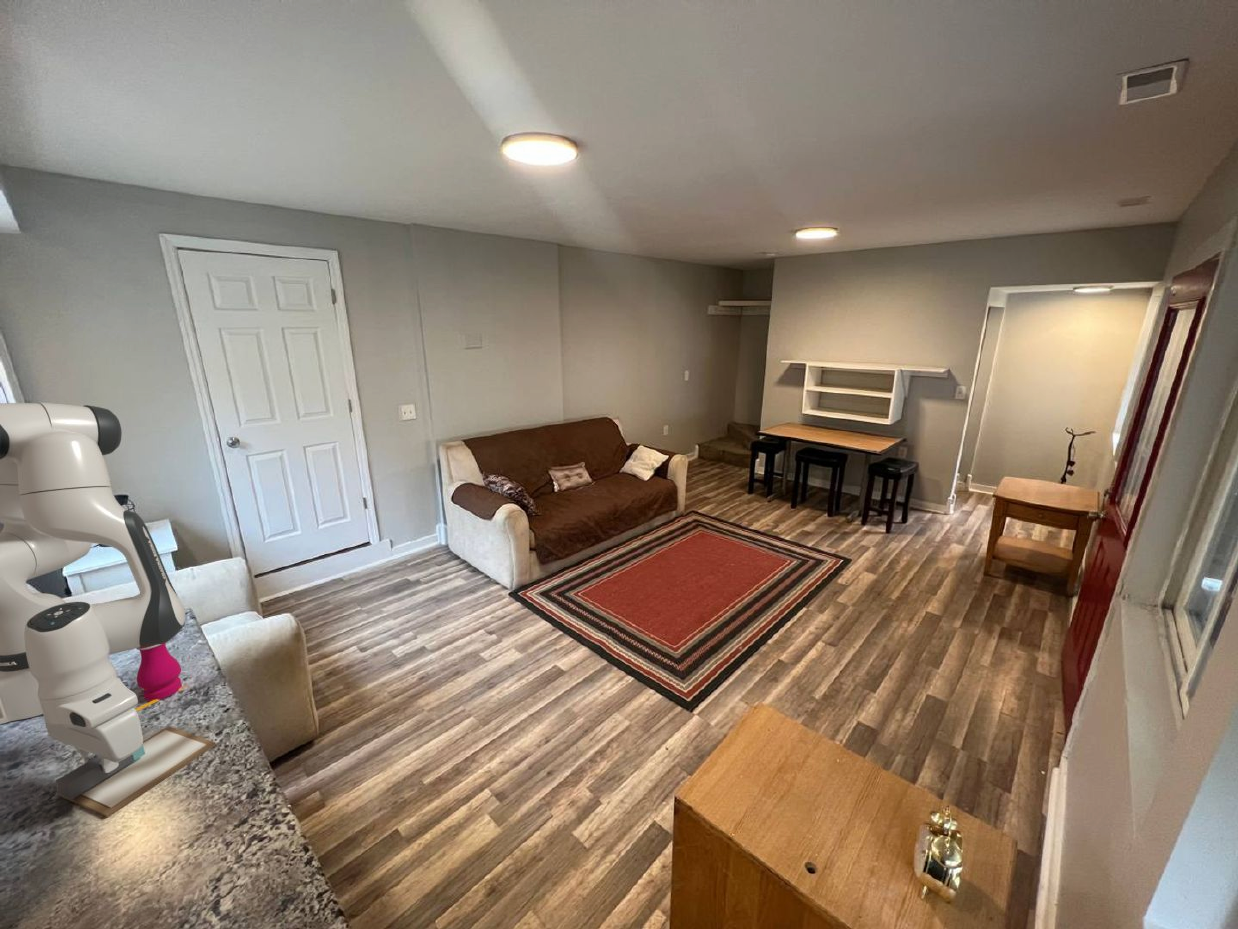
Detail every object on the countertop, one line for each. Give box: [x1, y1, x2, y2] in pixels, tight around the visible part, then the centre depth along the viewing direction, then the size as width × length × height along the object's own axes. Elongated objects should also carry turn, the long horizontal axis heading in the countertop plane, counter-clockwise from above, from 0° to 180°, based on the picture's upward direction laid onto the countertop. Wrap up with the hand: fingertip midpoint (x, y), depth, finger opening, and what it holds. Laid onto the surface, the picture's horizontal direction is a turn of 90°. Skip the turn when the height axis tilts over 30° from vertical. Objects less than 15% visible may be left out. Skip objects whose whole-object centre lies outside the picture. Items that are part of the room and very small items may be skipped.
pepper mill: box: [135, 643, 183, 702], centre depth 106 cm, size 7×7×20 cm
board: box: [56, 725, 216, 819], centre depth 87 cm, size 14×16×1 cm
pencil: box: [134, 684, 189, 712], centre depth 102 cm, size 1×19×1 cm, turn 154°
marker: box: [55, 744, 145, 801], centre depth 84 cm, size 3×10×3 cm, turn 162°
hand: (102, 766), depth 84 cm, fingers closed on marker, 3 cm apart
